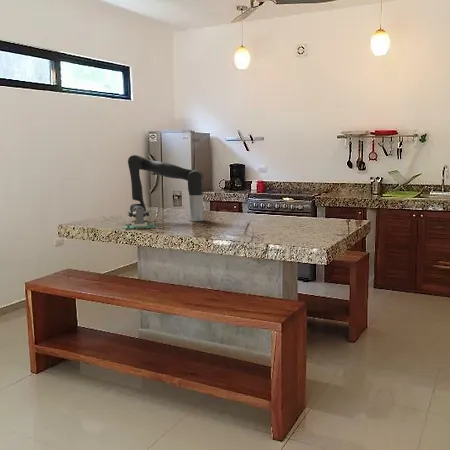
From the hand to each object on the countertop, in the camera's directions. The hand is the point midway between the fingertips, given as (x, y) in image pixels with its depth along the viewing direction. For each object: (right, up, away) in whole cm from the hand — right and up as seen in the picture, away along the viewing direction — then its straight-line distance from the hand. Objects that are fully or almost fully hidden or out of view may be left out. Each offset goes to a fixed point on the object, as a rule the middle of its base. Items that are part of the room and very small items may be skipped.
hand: (139, 215), depth 310 cm
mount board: (0, -7, +4) cm, 8 cm away
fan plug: (0, -6, +3) cm, 7 cm away
